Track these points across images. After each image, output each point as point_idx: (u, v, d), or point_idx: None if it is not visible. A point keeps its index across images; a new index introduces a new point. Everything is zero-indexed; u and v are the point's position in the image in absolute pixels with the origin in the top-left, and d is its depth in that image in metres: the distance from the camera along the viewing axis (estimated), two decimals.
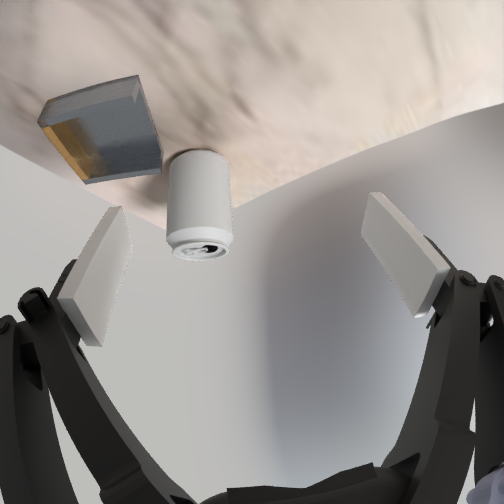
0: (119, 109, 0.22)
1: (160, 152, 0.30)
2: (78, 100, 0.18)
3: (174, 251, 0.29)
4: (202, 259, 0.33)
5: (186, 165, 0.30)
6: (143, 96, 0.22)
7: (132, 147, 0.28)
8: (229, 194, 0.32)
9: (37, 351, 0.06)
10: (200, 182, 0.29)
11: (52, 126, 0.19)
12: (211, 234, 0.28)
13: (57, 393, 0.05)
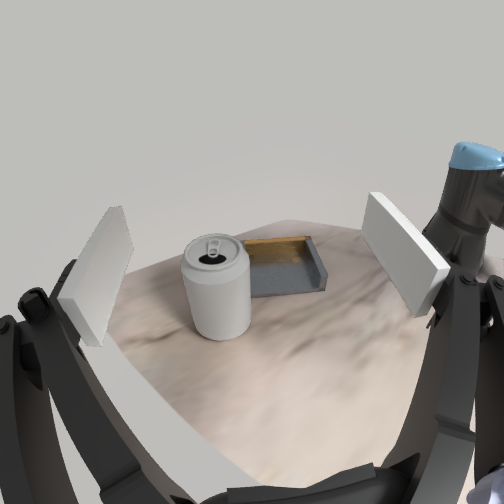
0: (299, 277, 0.42)
1: None
2: None
3: (224, 234, 0.32)
4: (187, 251, 0.29)
5: None
6: (309, 290, 0.40)
7: (258, 279, 0.42)
8: (229, 314, 0.31)
9: (37, 351, 0.06)
10: (250, 295, 0.33)
11: (302, 241, 0.46)
12: (242, 263, 0.29)
13: (57, 393, 0.05)
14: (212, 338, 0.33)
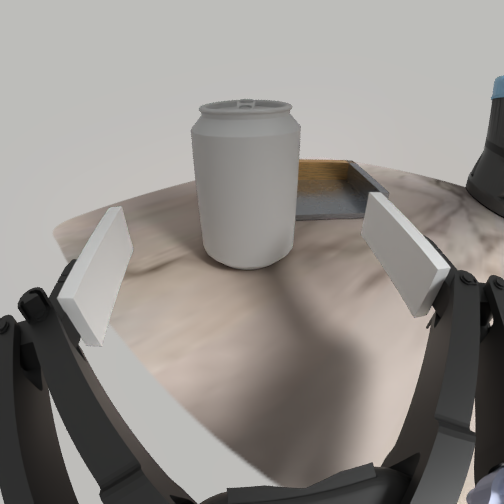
0: (348, 201, 0.30)
1: None
2: None
3: (258, 100, 0.19)
4: (204, 107, 0.17)
5: None
6: (364, 214, 0.28)
7: None
8: (268, 209, 0.18)
9: (37, 351, 0.06)
10: None
11: (345, 165, 0.34)
12: (292, 120, 0.17)
13: (57, 393, 0.05)
14: (234, 263, 0.21)
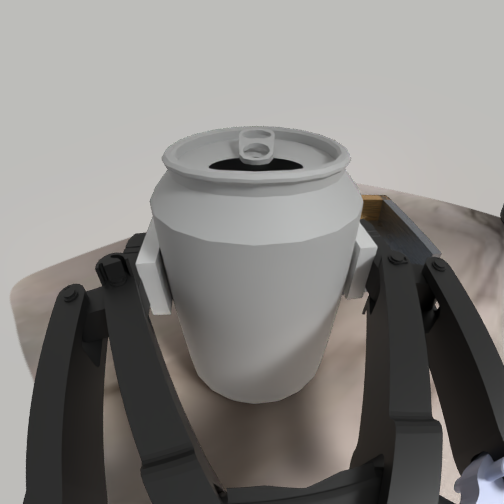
0: None
1: None
2: None
3: (277, 127, 0.11)
4: (174, 150, 0.09)
5: None
6: None
7: None
8: (296, 347, 0.10)
9: (107, 315, 0.08)
10: None
11: (378, 202, 0.26)
12: (350, 184, 0.09)
13: (120, 361, 0.06)
14: (238, 399, 0.12)
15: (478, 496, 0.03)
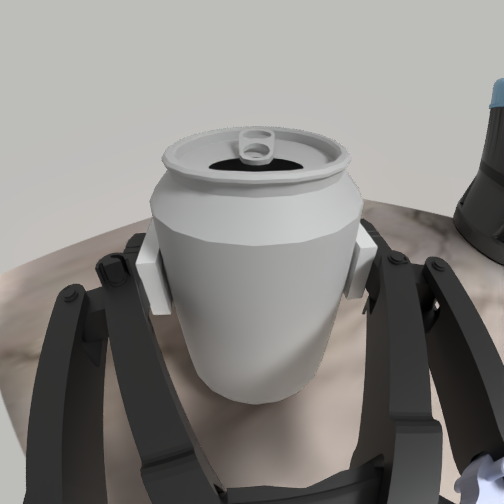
0: None
1: None
2: None
3: (277, 127, 0.11)
4: (174, 151, 0.09)
5: None
6: None
7: None
8: (296, 348, 0.10)
9: (107, 315, 0.08)
10: None
11: None
12: (351, 185, 0.09)
13: (121, 361, 0.06)
14: (238, 399, 0.12)
15: (478, 496, 0.03)
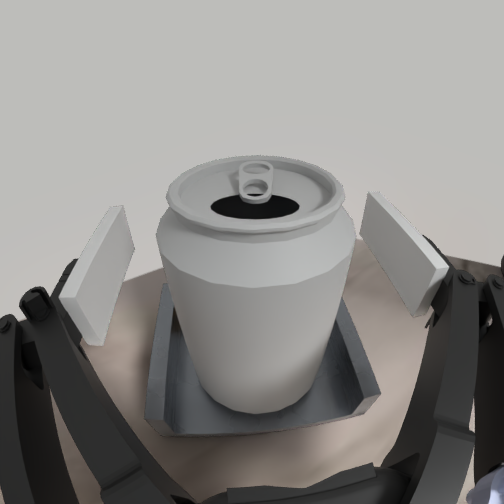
0: None
1: (173, 431, 0.13)
2: None
3: (276, 157, 0.12)
4: (178, 187, 0.10)
5: None
6: (327, 421, 0.14)
7: (200, 387, 0.15)
8: (292, 367, 0.11)
9: (38, 350, 0.06)
10: None
11: None
12: (344, 221, 0.09)
13: (58, 392, 0.05)
14: (239, 409, 0.13)
15: None
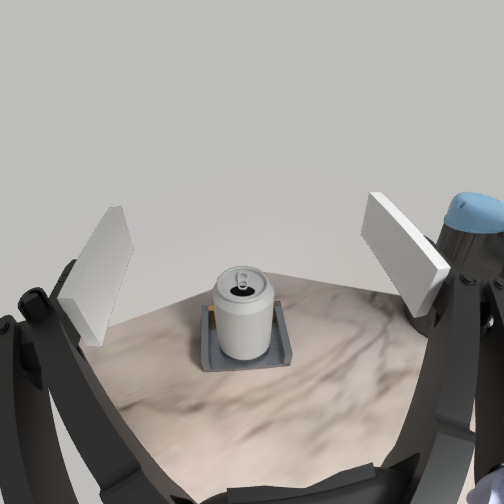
0: None
1: (210, 368, 0.36)
2: None
3: (251, 267, 0.35)
4: (219, 283, 0.33)
5: None
6: (272, 366, 0.37)
7: (220, 351, 0.39)
8: (254, 338, 0.34)
9: (37, 351, 0.06)
10: None
11: None
12: (268, 295, 0.33)
13: (57, 393, 0.05)
14: (236, 358, 0.36)
15: None
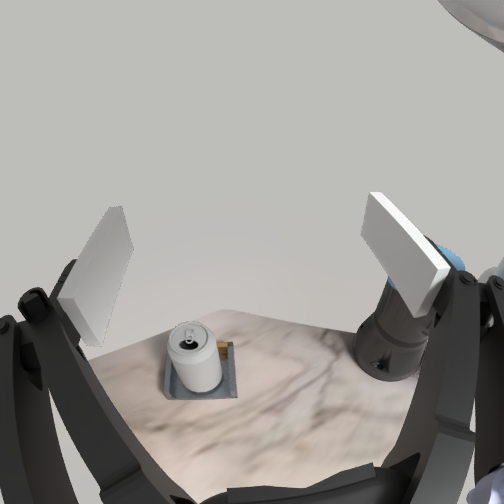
0: None
1: (172, 397, 0.42)
2: None
3: (198, 323, 0.41)
4: (171, 337, 0.39)
5: (219, 362, 0.45)
6: (222, 397, 0.43)
7: (181, 382, 0.44)
8: (202, 378, 0.40)
9: (37, 351, 0.06)
10: (219, 362, 0.43)
11: (225, 347, 0.49)
12: (209, 348, 0.38)
13: (57, 393, 0.05)
14: (192, 390, 0.42)
15: None
